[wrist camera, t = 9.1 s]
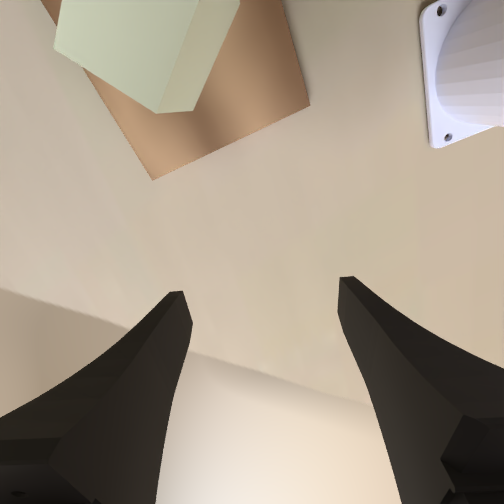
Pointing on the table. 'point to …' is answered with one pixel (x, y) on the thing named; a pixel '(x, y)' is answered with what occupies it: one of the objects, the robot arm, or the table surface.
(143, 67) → the product carton
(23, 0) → the table surface
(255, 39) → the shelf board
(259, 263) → the table surface
